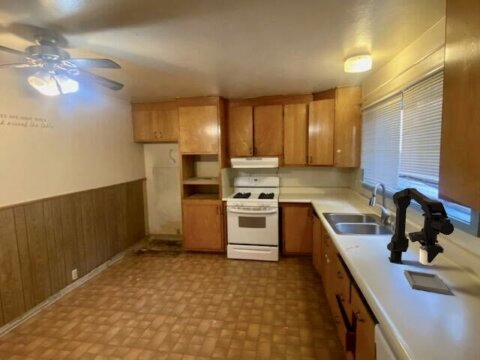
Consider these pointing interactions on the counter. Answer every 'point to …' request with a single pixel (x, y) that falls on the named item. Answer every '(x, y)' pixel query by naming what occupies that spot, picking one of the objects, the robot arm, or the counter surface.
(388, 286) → the counter surface
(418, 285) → the tray
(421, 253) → the cream cup
